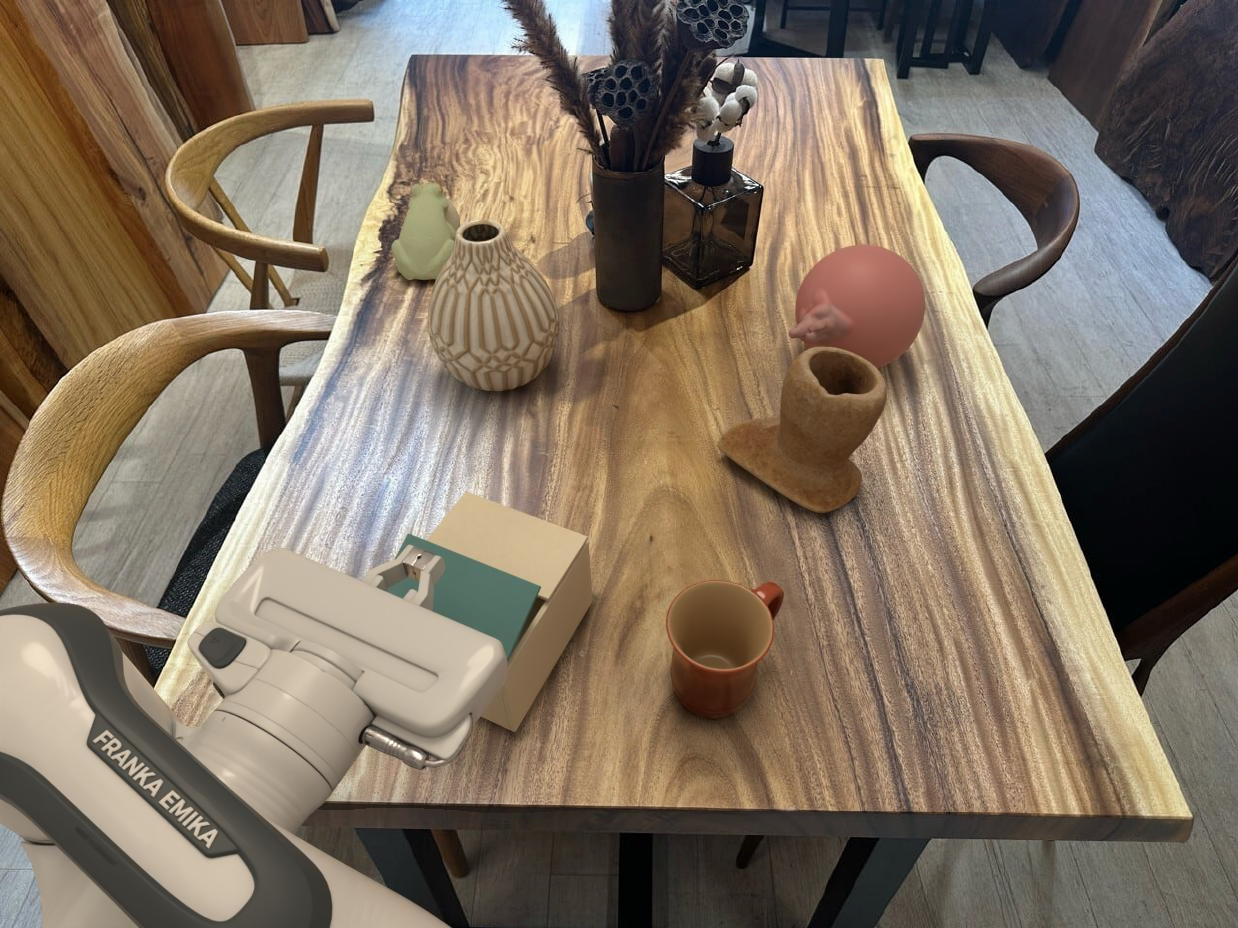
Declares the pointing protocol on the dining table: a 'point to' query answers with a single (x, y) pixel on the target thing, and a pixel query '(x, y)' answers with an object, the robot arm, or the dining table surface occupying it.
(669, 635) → the mug
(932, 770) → the dining table surface
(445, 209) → the figurine
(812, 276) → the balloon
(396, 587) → the flap
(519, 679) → the carton
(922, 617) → the dining table surface
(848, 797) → the dining table surface
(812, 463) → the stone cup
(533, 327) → the vase
